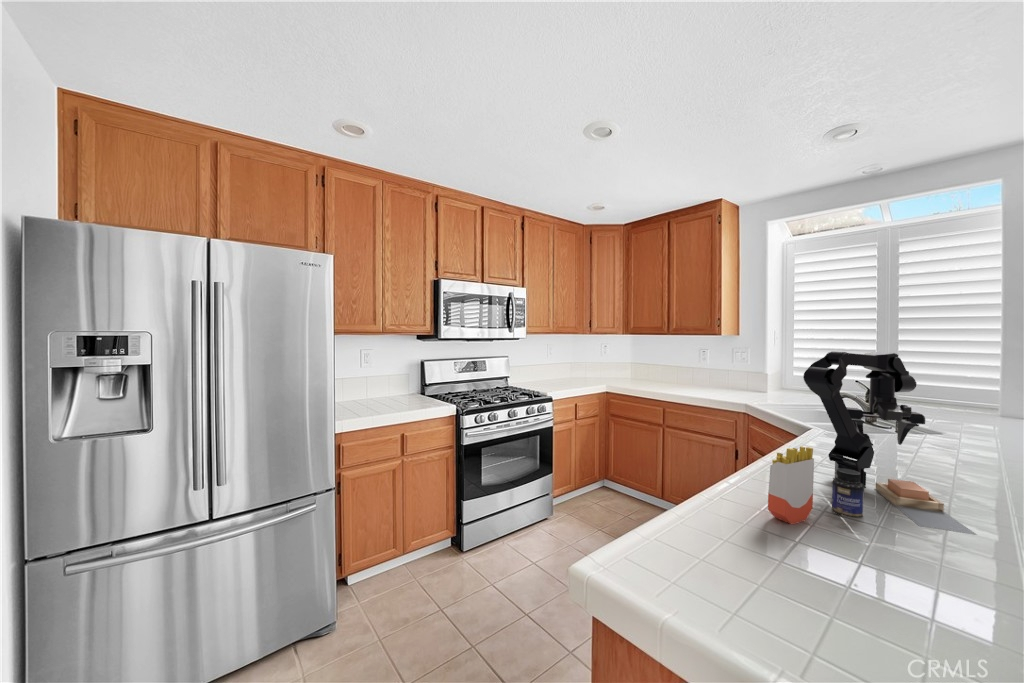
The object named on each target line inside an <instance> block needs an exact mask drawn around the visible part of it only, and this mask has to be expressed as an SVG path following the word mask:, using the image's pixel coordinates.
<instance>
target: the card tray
mask: <svg viewBox="0 0 1024 683" xmlns="http://www.w3.org/2000/svg"><path fill="white" fill-rule="evenodd" d="M875 489H876V490H877V491H878V492H880V493H881V494H882V495H883V496H884V497H886V498H887V499H888V500H889V501H890V502H892V503H893V504H894V505H896V506H903V507H910V508H918V509H925V510H932V511H939V512H945V508H944V507H945V506H944V503H943V502H941V501H940V500H939V499H937V498H935V497H934V496H932V495H931V494H929V501H927V500H919V499H912V498H904V497H898V496H897V495H896V494H894V493H893V492H892V491H890V490H889V489H888V483H885V482H877V481H876V482H875ZM876 490H875V491H876ZM877 491H876V492H877ZM878 492H877V493H878ZM880 493H879V494H880ZM881 494H880V495H881ZM882 495H881V496H882ZM883 496H882V497H883ZM884 497H883V498H884ZM886 498H885V499H886ZM887 499H886V500H887ZM888 500H887V501H888ZM889 501H888V502H889ZM890 502H889V503H890ZM892 503H891V504H892ZM893 504H892V505H893ZM894 505H893V506H894Z"/></svg>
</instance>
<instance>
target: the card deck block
mask: <svg viewBox="0 0 1024 683" xmlns="http://www.w3.org/2000/svg"><path fill="white" fill-rule="evenodd" d="M887 484H888V489H889V490H890V491H892V492H893V493H894V494H896V495H897V496H898V497H904V498H912V499H919V500H927V501H929V495H930V492H929V491H928V490H926V489H925V488H923V487H922V486H921V485H919V483H916V482H915V481H911V480H910V481H909V480H902V479H896V478H895V479H894V478H893V479H892V478H888V479H887Z"/></svg>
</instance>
